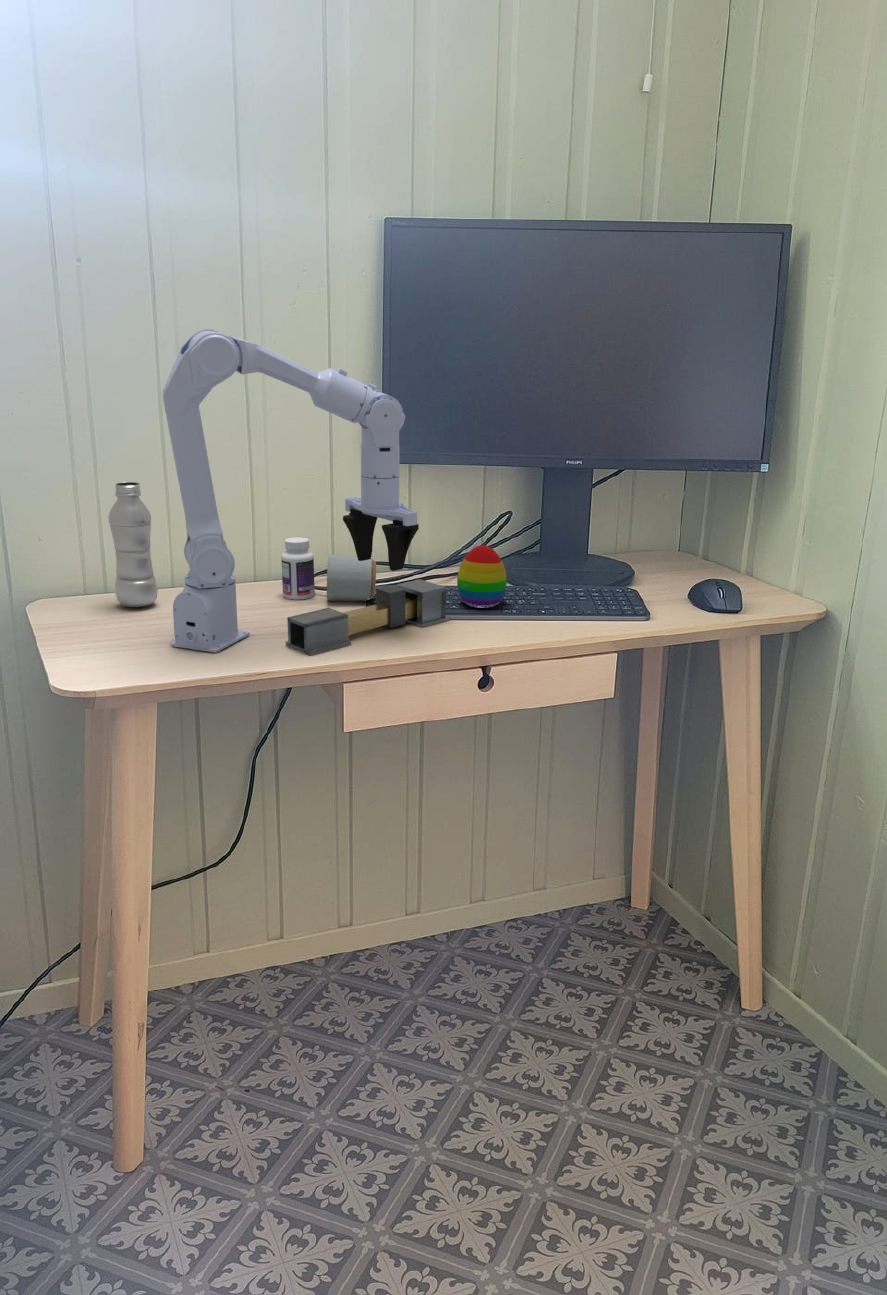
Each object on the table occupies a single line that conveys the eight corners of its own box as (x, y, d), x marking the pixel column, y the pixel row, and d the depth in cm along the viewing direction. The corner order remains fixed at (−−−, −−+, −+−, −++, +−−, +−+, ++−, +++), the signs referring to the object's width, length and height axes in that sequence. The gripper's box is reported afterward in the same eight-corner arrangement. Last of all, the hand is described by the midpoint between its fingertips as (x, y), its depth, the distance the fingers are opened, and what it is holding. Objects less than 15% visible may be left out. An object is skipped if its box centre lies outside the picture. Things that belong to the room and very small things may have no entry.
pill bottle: (317, 592, 187) (316, 536, 184) (311, 600, 182) (309, 543, 179) (286, 591, 187) (285, 535, 184) (279, 599, 182) (277, 542, 179)
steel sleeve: (310, 655, 155) (309, 625, 154) (285, 645, 159) (284, 616, 158) (351, 644, 160) (350, 615, 159) (326, 635, 164) (325, 606, 163)
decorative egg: (466, 613, 176) (467, 552, 173) (450, 599, 184) (451, 541, 180) (513, 609, 179) (515, 549, 175) (495, 595, 186) (497, 538, 183)
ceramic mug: (376, 606, 179) (376, 560, 177) (326, 606, 179) (325, 560, 177) (376, 589, 189) (376, 546, 187) (329, 589, 189) (328, 546, 187)
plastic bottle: (153, 611, 175) (144, 487, 168) (111, 611, 175) (100, 487, 168) (163, 600, 181) (154, 480, 174) (122, 600, 181) (111, 480, 174)
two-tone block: (344, 639, 161) (343, 604, 159) (330, 634, 163) (329, 599, 161) (429, 617, 172) (429, 584, 170) (414, 612, 174) (414, 579, 172)
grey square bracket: (422, 627, 168) (422, 593, 167) (391, 617, 173) (391, 584, 172) (450, 620, 172) (450, 587, 171) (419, 610, 177) (419, 578, 176)
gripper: (433, 479, 159) (431, 569, 164) (369, 466, 169) (370, 551, 174) (396, 484, 155) (396, 577, 159) (333, 471, 165) (335, 558, 169)
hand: (380, 564), depth 166 cm, fingers open, 7 cm apart
